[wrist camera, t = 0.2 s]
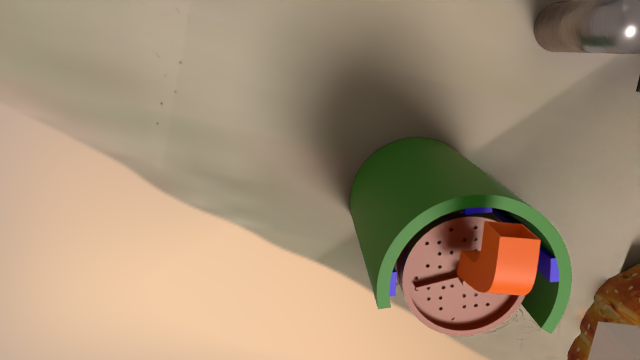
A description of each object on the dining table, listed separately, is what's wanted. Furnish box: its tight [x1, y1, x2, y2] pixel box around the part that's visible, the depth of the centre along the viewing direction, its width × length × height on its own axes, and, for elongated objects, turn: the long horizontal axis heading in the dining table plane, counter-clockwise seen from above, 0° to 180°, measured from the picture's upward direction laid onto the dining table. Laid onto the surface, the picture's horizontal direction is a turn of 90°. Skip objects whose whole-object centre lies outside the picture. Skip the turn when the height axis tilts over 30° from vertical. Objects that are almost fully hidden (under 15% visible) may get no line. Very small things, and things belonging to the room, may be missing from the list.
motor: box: [350, 138, 572, 336], centre depth 34 cm, size 10×9×20 cm
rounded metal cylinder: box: [534, 0, 640, 54], centre depth 36 cm, size 4×4×10 cm
